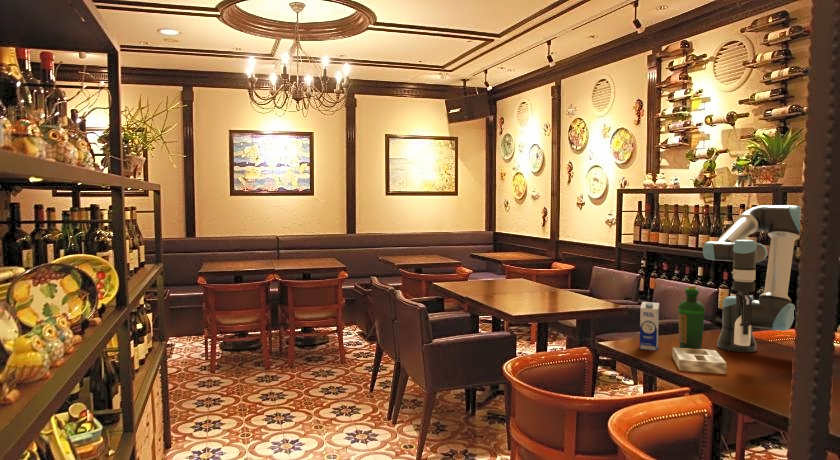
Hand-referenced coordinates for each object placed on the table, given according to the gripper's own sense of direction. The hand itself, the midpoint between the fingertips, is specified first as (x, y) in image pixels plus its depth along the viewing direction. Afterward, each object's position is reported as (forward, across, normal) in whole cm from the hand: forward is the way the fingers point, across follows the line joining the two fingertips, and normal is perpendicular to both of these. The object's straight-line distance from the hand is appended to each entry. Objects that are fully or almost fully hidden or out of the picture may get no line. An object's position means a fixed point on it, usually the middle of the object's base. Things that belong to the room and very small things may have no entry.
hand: (742, 340), depth 227 cm
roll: (+2, 0, 0) cm, 2 cm away
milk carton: (+11, -23, -31) cm, 41 cm away
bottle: (+11, -26, -14) cm, 31 cm away
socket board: (+11, 0, -15) cm, 19 cm away
